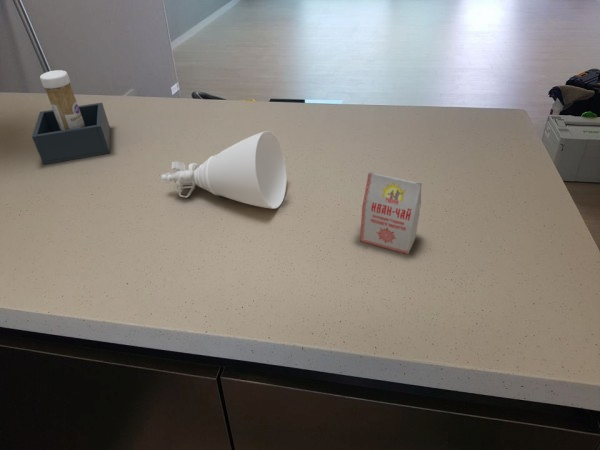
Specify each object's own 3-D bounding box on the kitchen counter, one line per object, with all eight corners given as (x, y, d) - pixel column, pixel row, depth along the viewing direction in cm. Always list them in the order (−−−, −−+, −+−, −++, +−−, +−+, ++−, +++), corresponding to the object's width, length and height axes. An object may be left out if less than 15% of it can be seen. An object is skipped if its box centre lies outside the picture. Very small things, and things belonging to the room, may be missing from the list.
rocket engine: (147, 136, 69) (254, 121, 63) (191, 152, 80) (286, 141, 74) (147, 211, 68) (255, 204, 62) (191, 218, 79) (287, 212, 73)
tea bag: (369, 226, 66) (373, 165, 59) (415, 238, 63) (425, 176, 57) (360, 241, 63) (363, 179, 57) (408, 254, 60) (417, 191, 54)
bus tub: (43, 164, 83) (31, 137, 80) (50, 137, 92) (39, 111, 89) (109, 153, 86) (100, 125, 82) (110, 128, 95) (102, 102, 91)
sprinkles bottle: (88, 145, 87) (64, 76, 79) (63, 149, 87) (36, 79, 78) (92, 135, 91) (68, 68, 83) (68, 138, 90) (42, 70, 82)
